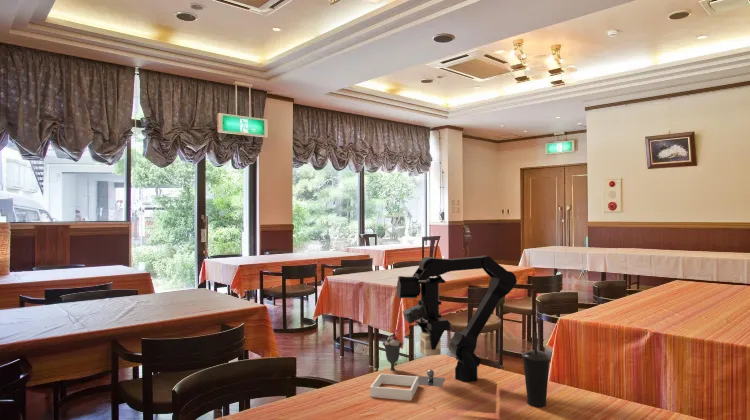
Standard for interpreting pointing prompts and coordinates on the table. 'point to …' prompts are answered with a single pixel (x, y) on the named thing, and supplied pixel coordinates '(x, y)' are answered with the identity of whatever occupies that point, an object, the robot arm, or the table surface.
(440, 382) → the stud plate
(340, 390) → the table surface
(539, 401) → the drinking cup
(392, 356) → the sundae
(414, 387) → the bin
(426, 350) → the socket block
